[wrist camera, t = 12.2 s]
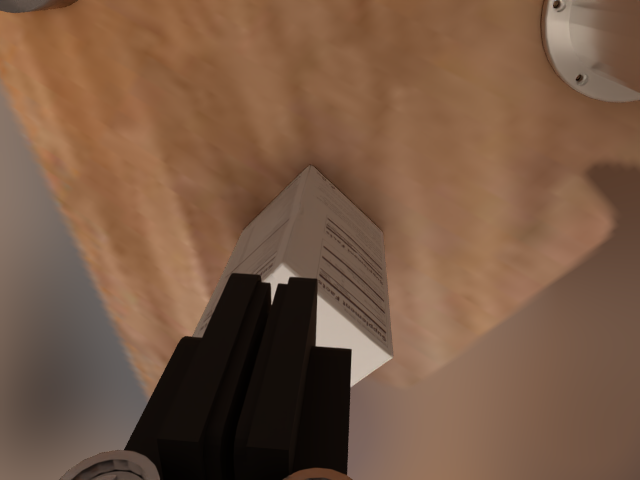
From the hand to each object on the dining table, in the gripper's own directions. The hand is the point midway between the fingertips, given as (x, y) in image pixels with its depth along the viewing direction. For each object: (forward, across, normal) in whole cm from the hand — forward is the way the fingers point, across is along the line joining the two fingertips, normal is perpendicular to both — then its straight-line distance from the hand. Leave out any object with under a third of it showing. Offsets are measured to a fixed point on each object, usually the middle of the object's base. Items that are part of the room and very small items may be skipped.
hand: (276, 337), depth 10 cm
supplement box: (+32, +2, +14) cm, 35 cm away
